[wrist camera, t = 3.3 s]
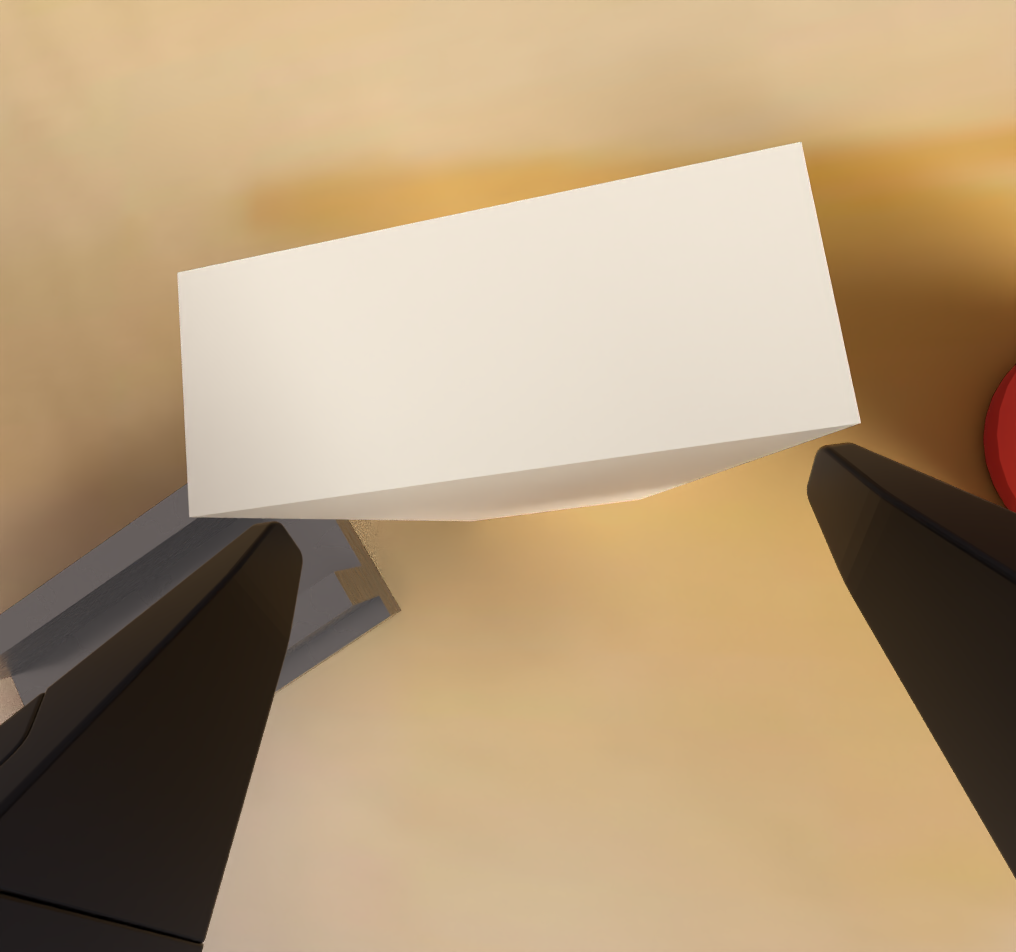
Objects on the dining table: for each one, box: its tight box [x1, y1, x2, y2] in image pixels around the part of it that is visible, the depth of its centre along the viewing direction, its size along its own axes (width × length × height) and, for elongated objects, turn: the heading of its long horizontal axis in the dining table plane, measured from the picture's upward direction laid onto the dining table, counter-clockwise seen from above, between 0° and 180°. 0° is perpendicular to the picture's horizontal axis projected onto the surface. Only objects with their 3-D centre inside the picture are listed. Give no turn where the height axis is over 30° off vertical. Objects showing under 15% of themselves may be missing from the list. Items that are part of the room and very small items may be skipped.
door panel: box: [177, 142, 861, 521], centre depth 11 cm, size 3×6×13 cm, turn 97°
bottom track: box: [0, 483, 401, 706], centre depth 17 cm, size 8×14×3 cm, turn 123°
